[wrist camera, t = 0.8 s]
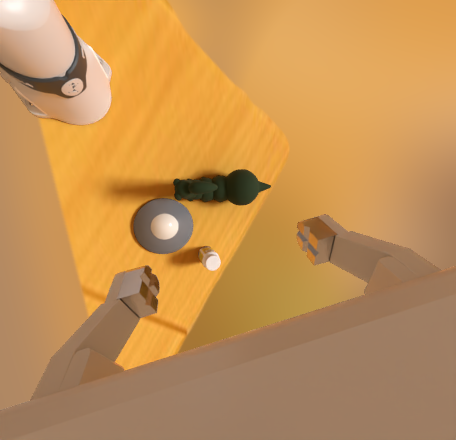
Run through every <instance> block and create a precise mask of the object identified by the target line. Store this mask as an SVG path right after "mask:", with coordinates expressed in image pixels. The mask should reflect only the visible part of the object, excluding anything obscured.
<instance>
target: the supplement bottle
mask: <svg viewBox="0 0 456 440" xmlns="http://www.w3.org/2000/svg"><path fill="white" fill-rule="evenodd" d="M198 257H199V259H200V261H201V262H202V264H203V265H204V267H206V268H207V269H209V270H212V271H213V270H216V269H218V268H219V266H220V263H221V261H220V258H219V256H218V254H217V253H216V252H215V251H214V250H213V249H212V248H211V247H208V246H204V247H202V248H201V249H200V250H199V252H198Z"/></svg>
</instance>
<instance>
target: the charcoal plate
mask: <svg viewBox="0 0 456 440" xmlns="http://www.w3.org/2000/svg"><path fill="white" fill-rule="evenodd" d="M192 231H193V220H192V217H191V215H190V213H189V211H188V210H187V208H186V207H185V206H183V205H182V204H181V203H179V202H177V201H175V200H172V199H165V198H162V199H156V200H153V201H150V202H148V203H147V204H145V205H144V206H143V207H142V208H141V209H140V210H139V211H138V213H137V215H136V217H135V220H134V233H135V236H136V238H137V240H138V242H139V243H140V244H141V245H142V246H143V247H144V248H145V249H147V250H149V251H151V252H154V253H158V254H168V253H172V252H175V251H177V250H179V249H181V248H182V247H183V246H184V245H185V244H186V243H187V242H188V241H189V239H190V237H191V235H192Z"/></svg>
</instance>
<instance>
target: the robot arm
mask: <svg viewBox="0 0 456 440" xmlns="http://www.w3.org/2000/svg"><path fill="white" fill-rule="evenodd" d="M100 63H101V64H100ZM0 72H1V73H0V75H1V77H2V78H3V79H4V80H5V81H6V82H7V83H9V84H10V85H11V87H12V88H13V90H14V91H15V92H16V94H17V95H18V96H19V97H20V99H21V101H22V102H23V103H24V105H25V106H26V107H27V109H28V110H29V111H30V112H31V113H32V114H33V115H35V116H36V117H41V118H55V119H58V120H61V121H63V122H66V123H70V124H76V125H86V124H91V123H94V122H96V121H98V120H100V119H101V118H102V117H104V115H105V114H106V113H107V112H108V110H109V107H110V104H111V91H110V85H109V82H110V79H111V75H112V71H111V68H110V66H109V65H108V64H107V63H106V62H105V61H104V60H103V59H102V58H101V57H100V56H99V55H98V54H97V53H95V52H94V51H93V49H92V48H91V47H90V46H89V45H87V44H86V43H85V42H84V41H83V40H82V39H81V38H79V37H78V36H77V35H76V33H75V31H74V30H73V28H72V27H71V26H70V24H69V23H68V21H67V20H66V19H65V17H64V16H63V15H62V14H61V13H60V11H59V9H58V8H57V6H56V4H55V2H54V0H0ZM31 103H32V104H33V106H31ZM297 228H298V229H299V232H298V233H297V242H298V244H299V246H300V248H301V249H302V250H303V251H305V252H307V257H308V258H309V260H310V261H311V262H312V263H313V265H317V264H321V263H325V262H328V261H330V263H332V264H334V265H336V266H338V267H340V268H341V269H343V270H345V271H347V272H349V273H351V274H353V275H354V276H356V277H358V278H360V279H362V280H364V281H366V282H367V283H368V284H367V286H366V288H365V291H364V294H365V295H362V296H359V297H356V298H353V299H350V300H347V301H343V302H341V303H337V304H334V305H331V306H328V307H325V308H322V309H318V310H315V311H312V312H309V313H306V314H302V315H299V316H296V317H293V318H290V319H287V320H284V321H280V322H277V323H274V324H271V325H267V326H265V327H261V328H258V329H255V330H252V331H249V332H245V333H242V334H239V335H236V336H233V337H230V338H226V339H223V340H220V341H217V342H214V343H211V344H207V345H204V346H201V347H199V348H195V349H192V350H189V351H186V352H182V353H179V354H176V355H173V356H170V357H166V358H163V359H160V360H157V361H154V362H151V363H148V364H144V365H141V366H138V367H135V368H132V369H129V370H126V371H124V368H123V367H122V366H120V365H119V364H117V363H115V360H116V359H117V357H118V355H119V354H120V352H121V350H122V349H123V347H124V345H125V344H126V342H127V340H128V339H129V337H130V335H131V334H132V332H133V330H134V328H135V327H136V325H137V323H138V322H139V320H140V319H139V318H142V317H145V316H148V315H151V314H154V313H157V306H158V299H157V298H156V296H157V295H158V293H159V288H160V287H159V281H158V278H157V277H156V275H154V274H152V273H151V271H152V269H151V268H150V267H149V266H142V267H139V268H135V269H131V270H127V271H124V272H120V273H117V274H116V275H115V277H114V279H113V282H112V285H111V287H110V290H109V293H108V295H107V298H106V301H105V303H104V304H101V305H100V306H99V307H98V308H97V309H96V311H95V312H94V313H93V314H92V315H91V316H90V317H89V318H88V319H87V320H86V321H85V322H84V323H83V324H82V326H81V327H80V328H79V329H78V330H77V331H76V332H75V333H74V334H73V335H72V336H71V337H70V338H69V340H68V341H67V342H66V343H65V344H64V345H63V346H62V347H61V348H60V349H59V350H58V351H57V352H56V353H55V355H54V356H53V357H52V358H51V359H50V362H49V363H48V365H47V367H46V369H45V371H44V373H43V376H42V377H41V380H40V381H39V384H38V386H37V388H36V390H35V392H34V394H33V396H32V398H31V400H30V401H28V402H25V403H21V404H18V405H15V406H12V407H9V408H6V409H3V410H0V440H456V266H454V267H451V268H448V269H444V270H440V269H439V268H437V267H436V266H435V265H433V264H432V263H430V262H429V261H427V260H426V259H424V258H423V257H421V256H420V255H418V254H417V253H415V252H414V251H413V250H411V249H409V248H406V247H402V246H399V245H395V244H392V243H389V242H385V241H382V240H379V239H375V238H372V237H369V236H366V235H362V234H359V233H356V232H352V231H350V232H348V231H346V230H345V229H344V228H343V227H342V226H340V225H339V224H338V223H337V222H336V221H334V220H333V219H332V218H331V217H330V216H328V215H326V214H324V215H321V216H318V217H314V218H311V219H307V220H304V221H301V222H298V225H297Z"/></svg>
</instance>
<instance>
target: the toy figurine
mask: <svg viewBox="0 0 456 440" xmlns="http://www.w3.org/2000/svg"><path fill="white" fill-rule="evenodd" d="M173 184H174V185H175V194H174V195H175V198H176V199H177V200H181V199H182V198H184V199H187V200H189V201H193V200H194V199H201V200H202V201H203V202H206V201H211V200H213V199H214V200H216V201H218V202H223V201H225V200H229V201H230V202H231V203H233V204H235V205H247V204H249V203H251V202H252V201H253V200H254V199H255V198H256V197H257V195H258V193H259V192H261V191H263V190H266V189H268V188H270V187H271V185H268V184H265V183H262V182H259V181H258V179H257V178H256V176H255V175H254V174H253V173H251V172H250V171H248V170H243V169H241V170H235V171H233V172H231V173H230V174H229V175H228V176H227V177H225V176H220V175H218V176H216V177H214V178H213V179H210V178H205V177H202V178H201V179H200V180H191V179H187V180H179V179H175V180H174V182H173Z"/></svg>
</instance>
